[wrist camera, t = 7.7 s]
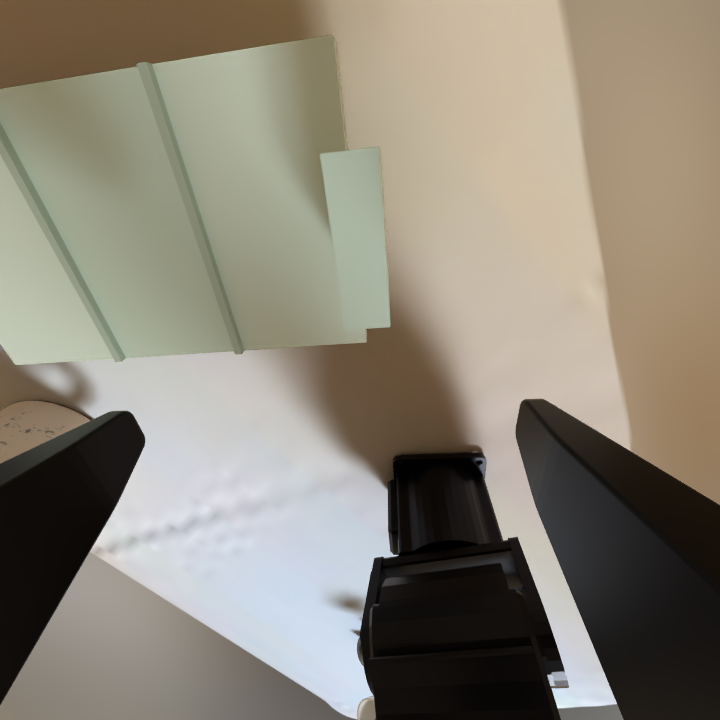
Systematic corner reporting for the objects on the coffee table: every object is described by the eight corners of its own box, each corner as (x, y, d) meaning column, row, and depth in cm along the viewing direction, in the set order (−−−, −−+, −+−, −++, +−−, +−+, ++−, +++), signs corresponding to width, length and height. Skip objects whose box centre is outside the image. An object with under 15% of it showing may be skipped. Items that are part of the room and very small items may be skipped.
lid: (373, 36, 10) (365, -62, 5) (392, 332, 15) (396, 410, 10) (-137, 118, 12) (-461, 96, 7) (31, 356, 17) (-101, 431, 12)
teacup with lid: (75, 492, 29) (-83, 665, 20) (-25, 420, 26) (-287, 590, 16) (176, 452, 26) (47, 637, 16) (78, 361, 22) (-173, 531, 12)
